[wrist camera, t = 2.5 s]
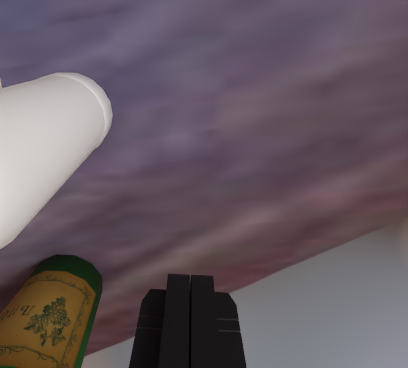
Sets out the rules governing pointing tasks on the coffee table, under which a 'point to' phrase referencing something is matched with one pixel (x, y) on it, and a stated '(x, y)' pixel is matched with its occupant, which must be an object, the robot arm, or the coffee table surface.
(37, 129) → the bottle
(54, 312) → the bottle
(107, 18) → the coffee table surface
